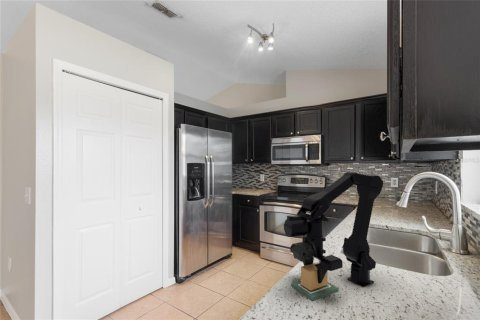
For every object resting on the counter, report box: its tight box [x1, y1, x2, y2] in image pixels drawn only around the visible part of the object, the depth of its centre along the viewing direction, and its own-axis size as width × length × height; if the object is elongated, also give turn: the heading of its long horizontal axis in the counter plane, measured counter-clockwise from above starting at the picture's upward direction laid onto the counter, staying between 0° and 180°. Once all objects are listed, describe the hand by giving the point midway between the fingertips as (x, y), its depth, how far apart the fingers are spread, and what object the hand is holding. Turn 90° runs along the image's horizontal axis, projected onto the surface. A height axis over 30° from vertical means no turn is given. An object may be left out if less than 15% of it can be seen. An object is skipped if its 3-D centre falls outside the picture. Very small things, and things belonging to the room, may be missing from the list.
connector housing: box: [300, 261, 329, 291], centre depth 79 cm, size 8×4×6 cm, turn 118°
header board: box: [290, 279, 339, 302], centre depth 79 cm, size 12×10×4 cm
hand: (314, 280), depth 79 cm, fingers closed on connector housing, 4 cm apart
